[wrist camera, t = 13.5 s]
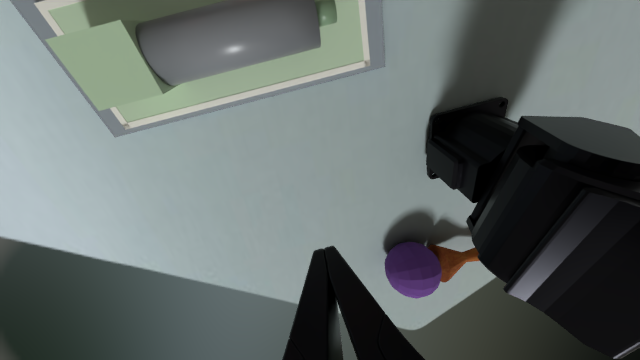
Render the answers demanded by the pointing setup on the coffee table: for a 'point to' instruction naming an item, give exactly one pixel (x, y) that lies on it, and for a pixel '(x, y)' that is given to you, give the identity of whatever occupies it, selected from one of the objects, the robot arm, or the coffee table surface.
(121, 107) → the grey compartment tray
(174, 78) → the marker
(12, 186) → the coffee table surface
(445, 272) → the kendama
